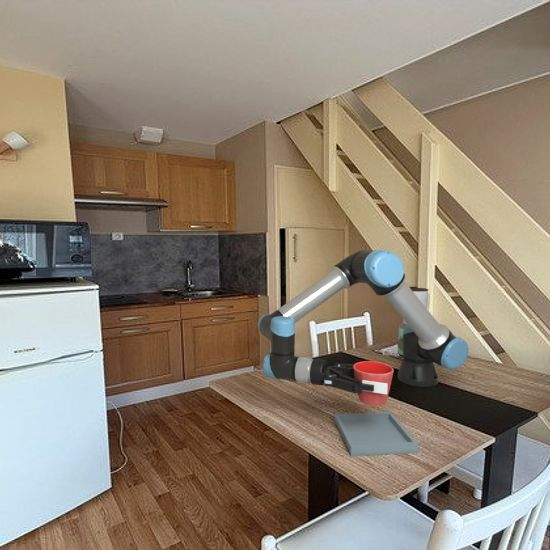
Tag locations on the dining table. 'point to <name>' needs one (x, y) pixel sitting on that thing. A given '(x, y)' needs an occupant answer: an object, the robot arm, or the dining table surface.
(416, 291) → the juicer
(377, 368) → the flower pot
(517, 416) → the dining table surface
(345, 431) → the tray
